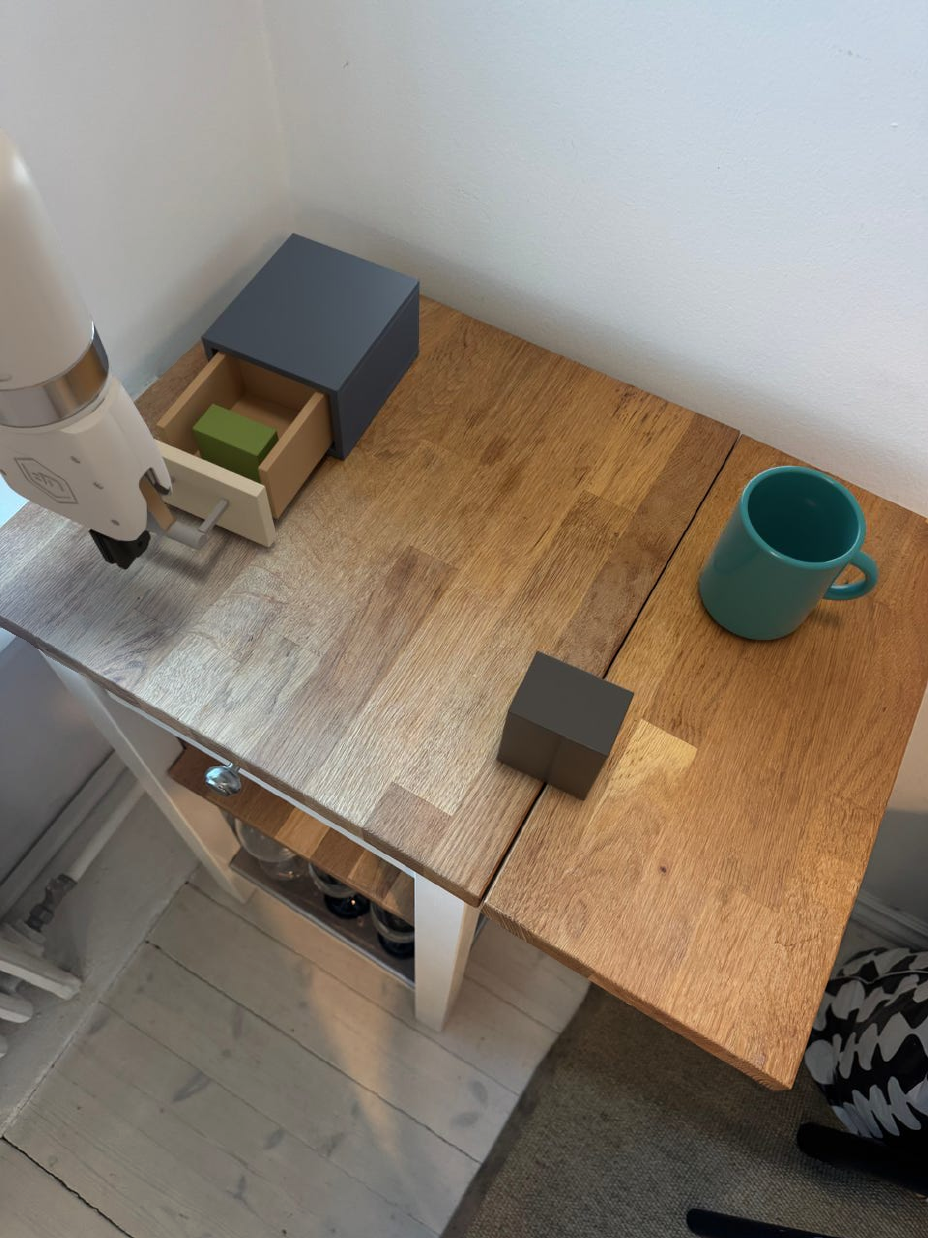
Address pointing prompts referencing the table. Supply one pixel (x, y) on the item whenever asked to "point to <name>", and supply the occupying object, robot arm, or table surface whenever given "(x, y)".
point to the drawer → (282, 471)
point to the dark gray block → (562, 724)
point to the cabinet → (326, 329)
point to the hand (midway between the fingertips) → (129, 550)
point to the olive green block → (234, 441)
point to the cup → (785, 553)
